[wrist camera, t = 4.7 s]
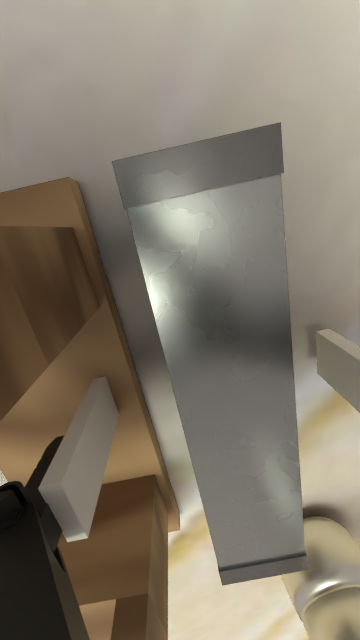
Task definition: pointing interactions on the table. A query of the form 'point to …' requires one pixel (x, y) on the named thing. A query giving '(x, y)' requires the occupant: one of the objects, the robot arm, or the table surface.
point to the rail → (226, 335)
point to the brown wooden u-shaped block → (65, 397)
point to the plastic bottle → (327, 582)
